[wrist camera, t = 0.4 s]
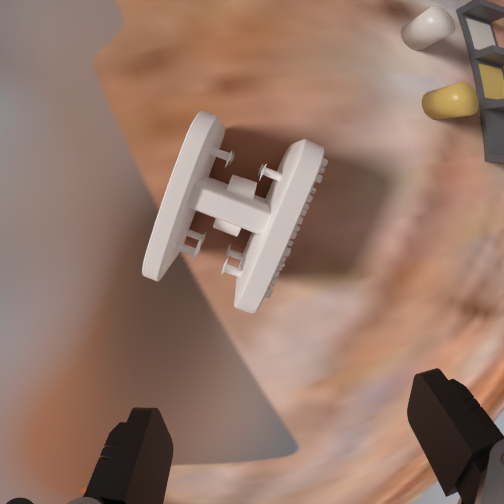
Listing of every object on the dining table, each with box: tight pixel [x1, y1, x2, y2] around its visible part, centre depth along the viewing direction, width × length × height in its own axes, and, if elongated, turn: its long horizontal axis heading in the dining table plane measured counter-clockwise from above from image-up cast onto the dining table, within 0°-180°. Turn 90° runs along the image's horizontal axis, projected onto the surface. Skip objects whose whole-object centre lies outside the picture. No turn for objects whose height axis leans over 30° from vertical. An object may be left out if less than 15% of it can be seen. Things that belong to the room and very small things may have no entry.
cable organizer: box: [142, 111, 328, 314], centre depth 29 cm, size 15×11×12 cm
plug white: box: [401, 6, 455, 51], centre depth 25 cm, size 4×4×7 cm
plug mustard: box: [422, 82, 479, 120], centre depth 28 cm, size 4×4×7 cm
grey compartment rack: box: [456, 0, 504, 163], centre depth 27 cm, size 22×6×6 cm, turn 8°
